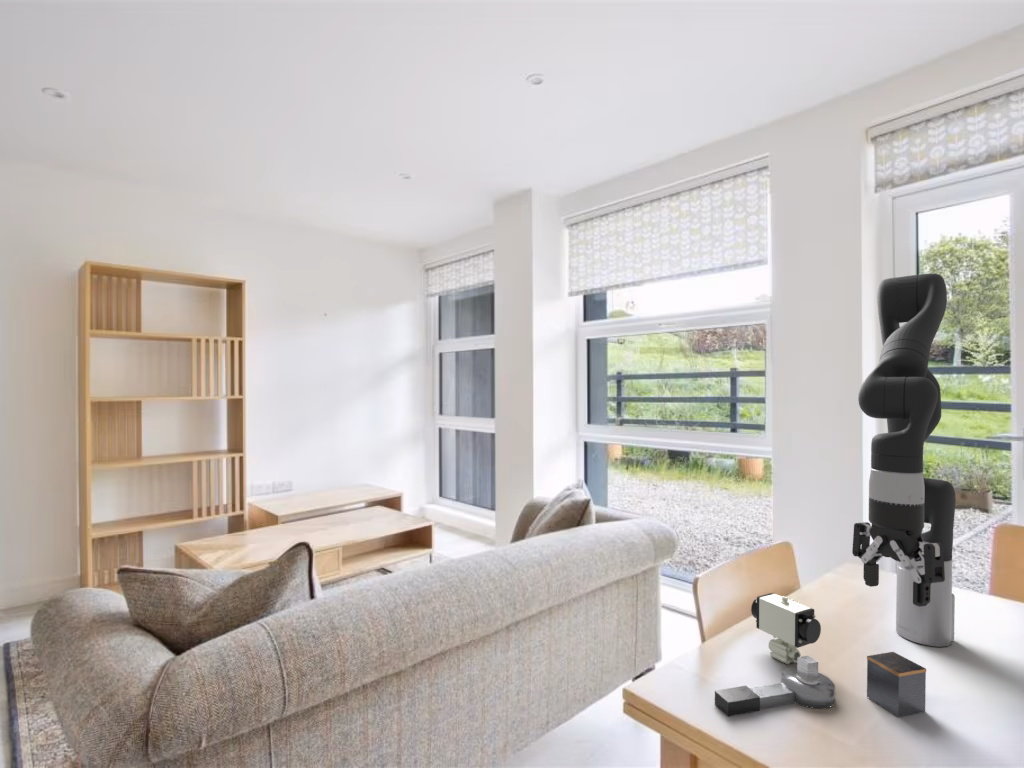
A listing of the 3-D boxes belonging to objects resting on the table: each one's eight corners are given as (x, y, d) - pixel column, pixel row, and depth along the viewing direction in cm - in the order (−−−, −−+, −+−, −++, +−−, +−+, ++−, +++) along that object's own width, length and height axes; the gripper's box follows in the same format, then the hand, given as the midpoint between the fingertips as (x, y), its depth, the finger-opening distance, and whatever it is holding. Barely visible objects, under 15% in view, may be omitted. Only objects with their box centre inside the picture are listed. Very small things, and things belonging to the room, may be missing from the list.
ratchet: (808, 678, 97) (808, 645, 97) (846, 704, 90) (846, 668, 90) (706, 696, 92) (706, 660, 92) (737, 725, 84) (738, 686, 84)
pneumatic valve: (804, 677, 98) (805, 611, 98) (750, 648, 108) (750, 588, 108) (824, 669, 100) (824, 605, 100) (768, 642, 111) (769, 583, 111)
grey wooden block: (892, 692, 93) (893, 651, 93) (925, 711, 88) (926, 668, 88) (866, 697, 92) (866, 655, 92) (898, 717, 86) (898, 673, 86)
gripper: (958, 505, 84) (957, 610, 84) (875, 487, 98) (874, 577, 98) (920, 508, 82) (919, 615, 82) (841, 489, 96) (840, 581, 96)
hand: (894, 594), depth 90 cm, fingers open, 8 cm apart
